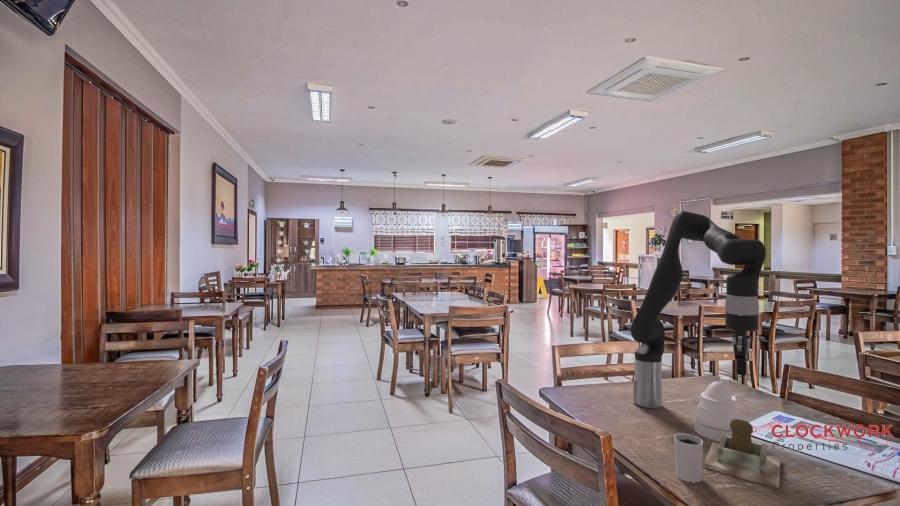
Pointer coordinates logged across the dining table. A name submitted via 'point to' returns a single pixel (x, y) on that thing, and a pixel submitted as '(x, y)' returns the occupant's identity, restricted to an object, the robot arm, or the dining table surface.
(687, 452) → the white cup
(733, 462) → the stand
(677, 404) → the dining table surface
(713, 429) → the honey pot
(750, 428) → the brown rounded tapered piece
